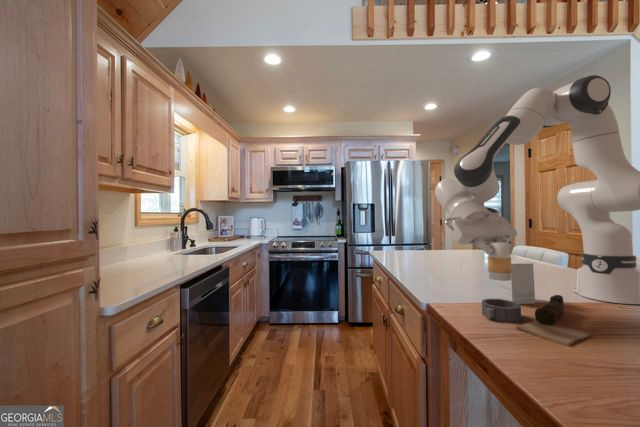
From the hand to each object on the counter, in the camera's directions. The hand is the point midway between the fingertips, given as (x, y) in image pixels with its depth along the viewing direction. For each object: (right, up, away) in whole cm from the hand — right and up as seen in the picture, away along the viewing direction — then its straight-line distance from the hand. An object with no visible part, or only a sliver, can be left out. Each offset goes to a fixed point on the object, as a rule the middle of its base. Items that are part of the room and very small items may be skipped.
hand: (500, 252), depth 74 cm
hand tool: (+12, -17, -2) cm, 21 cm away
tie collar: (0, -18, 0) cm, 18 cm away
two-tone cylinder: (0, -7, 0) cm, 7 cm away
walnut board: (+4, -17, -11) cm, 21 cm away
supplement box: (+14, -18, +13) cm, 26 cm away
